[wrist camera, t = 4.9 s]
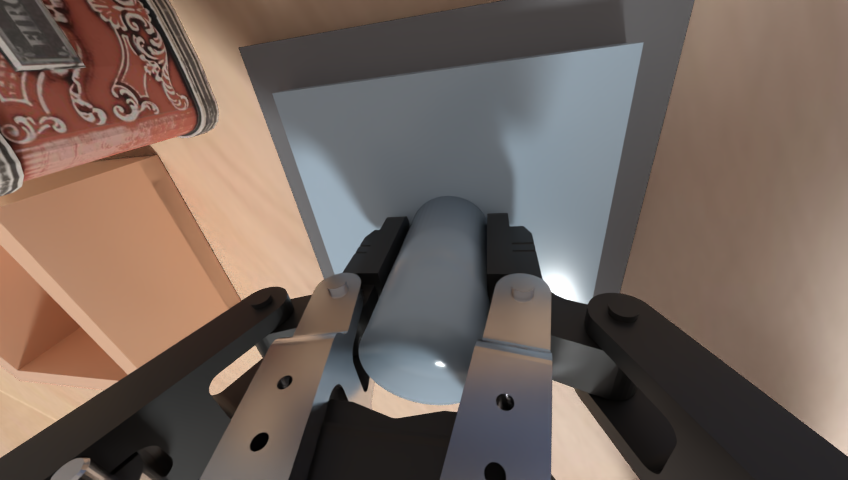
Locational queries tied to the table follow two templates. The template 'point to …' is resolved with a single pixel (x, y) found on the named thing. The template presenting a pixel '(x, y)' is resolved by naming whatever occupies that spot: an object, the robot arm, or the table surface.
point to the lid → (462, 190)
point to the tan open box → (101, 273)
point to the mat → (484, 42)
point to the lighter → (93, 83)
